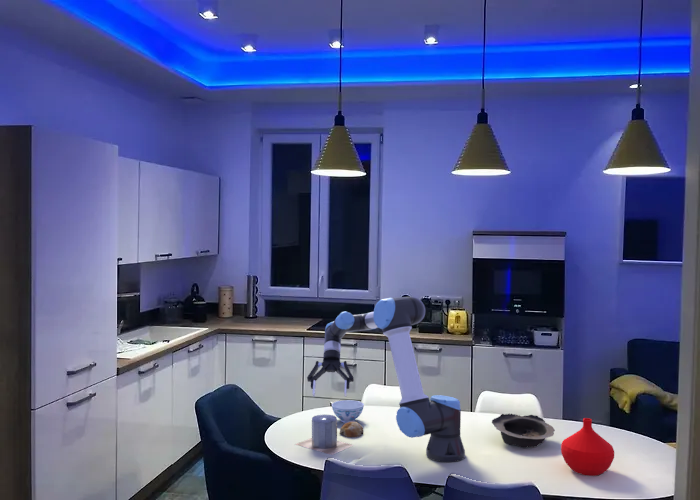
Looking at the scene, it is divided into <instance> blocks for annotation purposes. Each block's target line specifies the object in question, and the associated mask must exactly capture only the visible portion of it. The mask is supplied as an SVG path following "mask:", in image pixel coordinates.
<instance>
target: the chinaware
mask: <svg viewBox="0 0 700 500" xmlns="http://www.w3.org/2000/svg"><path fill="white" fill-rule="evenodd" d="M364 405H365V404H364V403H363V402H362V401H359V400H353V399H352V400H351V399H345V400H337V401H334V402H333V403H331V408H332V410H333V413H334V416H335V417H336V418H338V419H339V420H340V422H342V423H344V424H346V423H348V422H356V420H357V419H358V418H359V417H360V416H361V415H362V413H363V410H364V407H365V406H364Z"/></svg>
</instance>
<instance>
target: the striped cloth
mask: <svg viewBox="0 0 700 500" xmlns="http://www.w3.org/2000/svg"><path fill="white" fill-rule="evenodd" d="M295 445H296V446H299V447H303V448H306V449H309V450H310V449H311V450H314V451H317V452H320V453H323V454H328V455H331V456H333V455H335V454H337V453H340V452H342V451H345V450H347V449H349V448H352V447H354V446H355V445H354V444H352V443H351V444H350V443H347V442H345V441H343V442H342V441H341V440H340V441H339V440H337V445H336V447H333V448H329V449H318V448H315V447H313V446H312V437H310V438H308V439H304V440H303V441H300V442H297V443H295V444H294V446H295Z"/></svg>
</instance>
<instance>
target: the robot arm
mask: <svg viewBox="0 0 700 500" xmlns="http://www.w3.org/2000/svg"><path fill="white" fill-rule="evenodd" d="M374 306H375V307H374V309H373V311H371V312H367V313H361V314H360V313H359V314H352V313H351V312H348V311H341V312H340V313H339V314H338V315H337V317H336V318H335V319H334V320H333V321H331V322H329V323H327V324H326V326H325V330H324V344H323V359H322V362H320V361H319V360H316V361H315V364H314V366H313V368H312V369H311V371H310V373H309V374H308V376H307V377H306V378H307V382H310V389H311V390H312V397H316V385H317V383H316V382H317V381H318V380H319V378H320V377H322V376H323V375H324V374H325V373H335V372H336V373H337V374H338V375H339V376H340V377H341V378H342V379H343V380H344V391H343V392H344V398H345V397H347V390H350V383H352V382H354V381H355V380H354V375H353V374H352V372H351V370H350V369H349V367H348V364H347V361H346V360H345V361H343V362H341V348H342V347H341V346H342V345H341V344H342V339H343V338H344V336H345V335H346V334H347V333H351V332H360V331H372V330H376V329H380V330H382V335H384V336H385V337H387V338H388V343H389V348H390V352H391V355H392V360H393V365H394V369H395V374H396V377H397V382H398V386H399V387H398V388H399V390H400V391H399V392H400V395H401V400H400V402H398V403H399V404H398V405H399V408H398V409H397V410H396V415H395V420H396V423H397V427H398V428H399V430H400V432H401V433H403V434H404V435H405V436H406V437H407V438H420V437H423V436H428V435H430V436H429V439H428V442H427V446H426V450H425V456H426V457H428V459H430V460H432V461H436V462H441V463H455V462H460V461H463V460H464V459H465V457H466V450H465V446H464V443H463V440H462V437H461V423H462V422H461V421H462V420H461V417H462V416H461V415H462V413H461V411H462V409H461V401H460V399H458V398H455V397H452V396H448V395H440V394H438V395H437V394H435V395H431V396H430V397H429V396H428V395H427V394H425V393H424V389H423V384H422V381H421V377H420V372H419V368H418V364H417V360H416V355H415V351H414V347H413V343H412V339H411V334H410V333H411V330H412V328H413V327H412V326H414V325H417V324H419V323H420V322H422V321H423V319H424V318H425V315H426V306H425V304H424V303H423V301H421V299H419V298H417V297H415V296H399V297H396V296H395V297H388V298H382V299H380V300H378V301H377V302H376V304H375V305H374ZM319 368H320V370H319ZM341 368H343V369H344V371H343V370H342V369H341ZM345 372H346V373H345Z"/></svg>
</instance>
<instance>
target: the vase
mask: <svg viewBox="0 0 700 500" xmlns="http://www.w3.org/2000/svg"><path fill="white" fill-rule="evenodd" d="M592 423H593V421H592V418H588V417H584V418H583V420H582V428H580V429H579V430H578V431H576V432H575V433H573V434H571V435H570V436H568V437H566V438H564V439H563V440H562V442H561V444H560V447H561V448H560V453H561V455H562V458H563V460H564V463H566V465H567V466H568V467H569V468H570V469H571V470H572V471H573V472H575V473H576V474H579V475H582V476H588V477H594V476H595V477H597V476H601V475H602V474H604V473H605V472H607V471H608V470H609V468H610V467H611V465H612V463H613V462H614V460H615V450H614V447H613V445H612V444H611V443H610V442H609V441H607V440H606V439H605V438H603V437H602V436H601V435H600V434H598V433H597V432H596V431H595V430H594V428H593V426H592Z"/></svg>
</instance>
